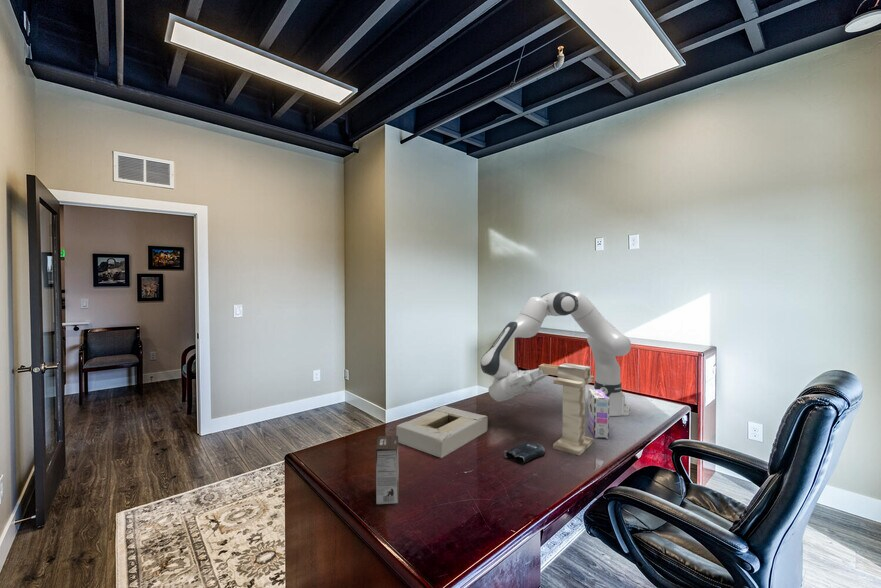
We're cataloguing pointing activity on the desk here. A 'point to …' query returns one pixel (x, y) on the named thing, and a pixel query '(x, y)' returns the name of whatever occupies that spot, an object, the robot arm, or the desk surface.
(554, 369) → the tray
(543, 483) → the desk surface
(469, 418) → the box
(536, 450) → the electronic device
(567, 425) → the stand
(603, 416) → the candy box
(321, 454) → the desk surface
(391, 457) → the coffee box
